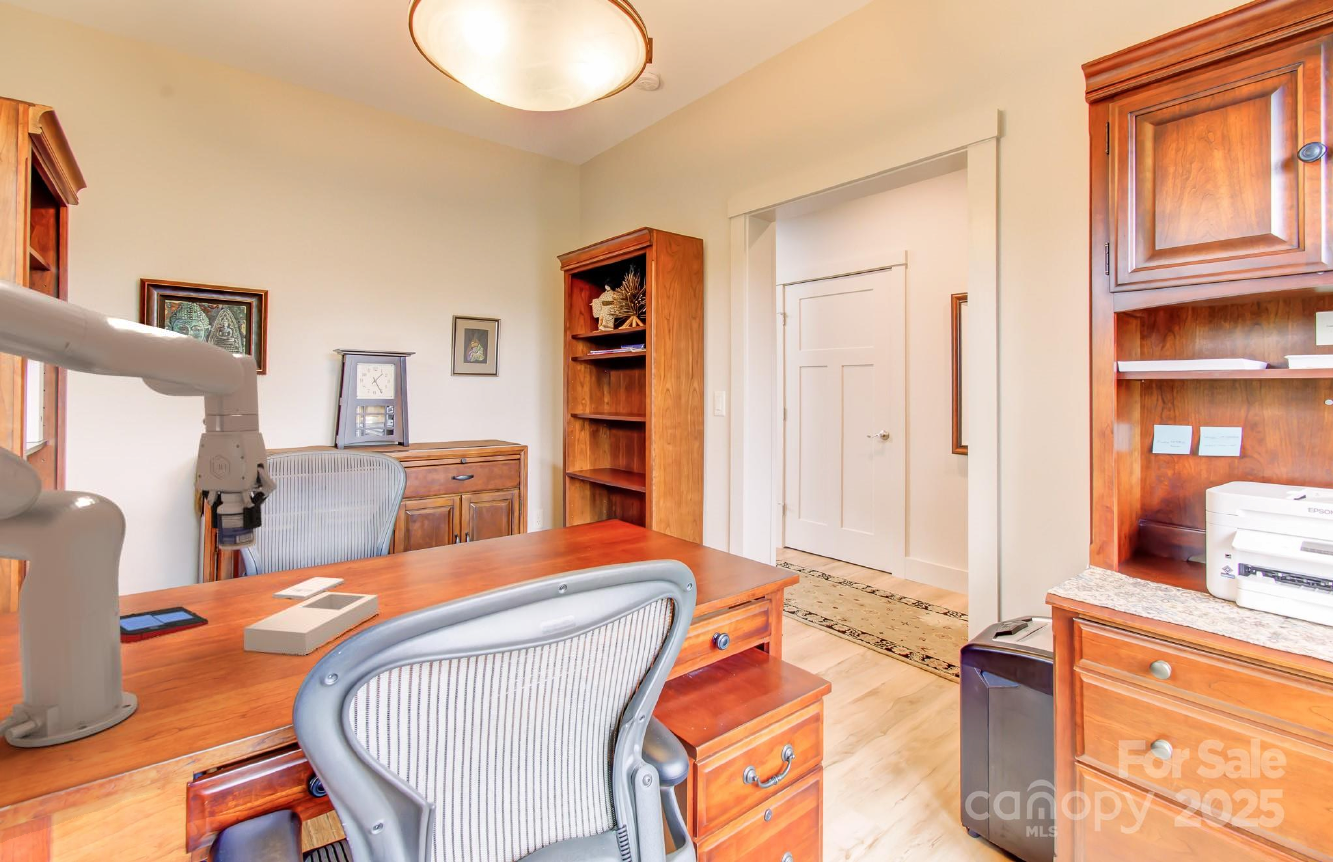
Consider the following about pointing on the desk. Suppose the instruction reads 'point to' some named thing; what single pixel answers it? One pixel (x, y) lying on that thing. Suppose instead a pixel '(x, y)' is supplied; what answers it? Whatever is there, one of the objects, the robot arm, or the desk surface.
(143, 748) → the desk surface
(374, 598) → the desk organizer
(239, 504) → the pill bottle
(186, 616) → the game console
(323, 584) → the external hard drive
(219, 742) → the desk surface
